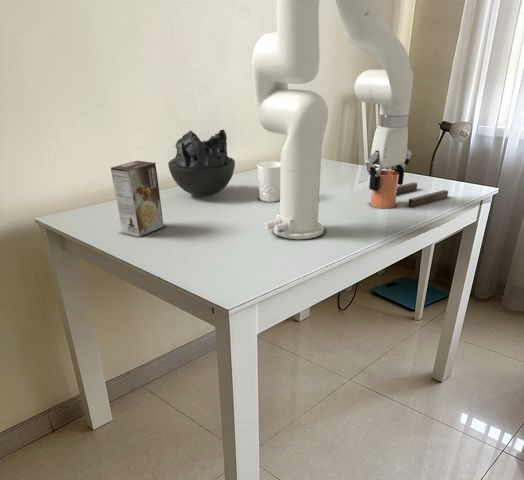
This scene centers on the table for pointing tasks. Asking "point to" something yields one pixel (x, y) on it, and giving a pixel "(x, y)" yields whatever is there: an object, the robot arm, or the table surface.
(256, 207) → the table surface
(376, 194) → the peach cup
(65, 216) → the table surface
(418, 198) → the guide rails
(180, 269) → the table surface
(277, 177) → the white cup
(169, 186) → the table surface
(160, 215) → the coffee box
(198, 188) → the bowl of black rocks
